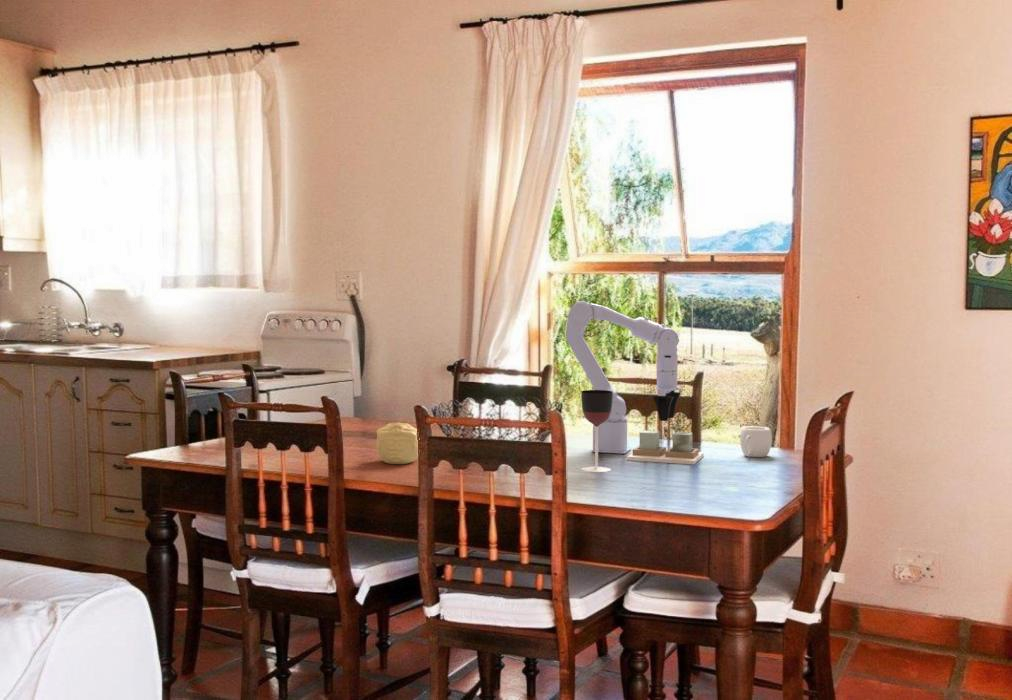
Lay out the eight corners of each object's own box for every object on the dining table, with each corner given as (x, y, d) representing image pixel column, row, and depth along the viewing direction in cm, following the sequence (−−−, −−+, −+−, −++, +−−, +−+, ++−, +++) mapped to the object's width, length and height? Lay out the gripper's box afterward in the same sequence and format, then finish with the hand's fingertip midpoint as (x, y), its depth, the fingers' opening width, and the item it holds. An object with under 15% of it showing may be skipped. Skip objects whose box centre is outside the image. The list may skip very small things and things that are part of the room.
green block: (672, 456, 281) (672, 434, 281) (675, 453, 285) (676, 432, 285) (689, 457, 279) (689, 435, 279) (692, 454, 284) (692, 432, 283)
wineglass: (585, 472, 262) (585, 393, 261) (577, 466, 271) (577, 390, 270) (615, 471, 264) (616, 393, 262) (607, 465, 272) (607, 389, 271)
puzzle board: (627, 460, 281) (627, 434, 280) (639, 452, 294) (639, 427, 293) (693, 464, 274) (694, 438, 274) (703, 456, 287) (703, 431, 287)
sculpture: (373, 466, 271) (373, 425, 271) (379, 458, 283) (379, 419, 283) (417, 466, 271) (417, 425, 270) (422, 458, 283) (421, 419, 282)
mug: (746, 452, 294) (747, 425, 293) (775, 455, 289) (776, 427, 289) (730, 458, 284) (730, 429, 283) (760, 461, 279) (760, 432, 279)
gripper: (676, 373, 284) (675, 423, 285) (686, 369, 298) (685, 416, 299) (650, 372, 287) (650, 421, 288) (661, 368, 300) (661, 415, 301)
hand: (666, 419), depth 293 cm, fingers open, 7 cm apart
